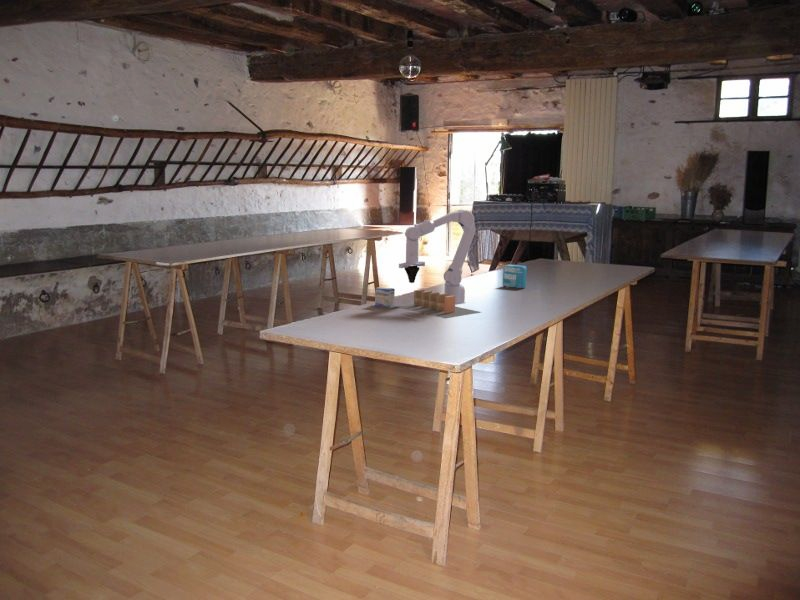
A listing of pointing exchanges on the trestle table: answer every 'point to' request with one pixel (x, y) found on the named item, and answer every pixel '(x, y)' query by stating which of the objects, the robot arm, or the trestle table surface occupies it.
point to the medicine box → (384, 297)
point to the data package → (514, 276)
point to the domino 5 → (449, 304)
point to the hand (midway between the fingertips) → (411, 282)
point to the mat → (433, 312)
